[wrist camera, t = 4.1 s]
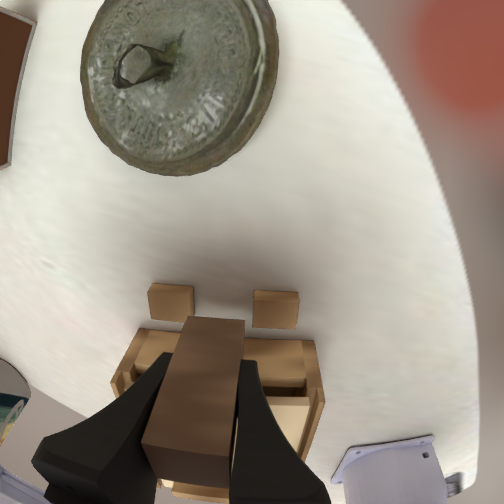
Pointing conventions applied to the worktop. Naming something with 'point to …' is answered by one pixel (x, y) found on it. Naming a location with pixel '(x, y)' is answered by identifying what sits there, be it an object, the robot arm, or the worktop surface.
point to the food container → (11, 74)
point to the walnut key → (198, 405)
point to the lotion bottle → (11, 397)
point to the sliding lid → (287, 416)
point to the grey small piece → (179, 79)
